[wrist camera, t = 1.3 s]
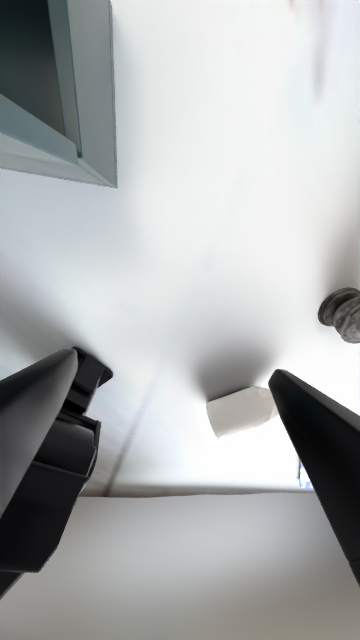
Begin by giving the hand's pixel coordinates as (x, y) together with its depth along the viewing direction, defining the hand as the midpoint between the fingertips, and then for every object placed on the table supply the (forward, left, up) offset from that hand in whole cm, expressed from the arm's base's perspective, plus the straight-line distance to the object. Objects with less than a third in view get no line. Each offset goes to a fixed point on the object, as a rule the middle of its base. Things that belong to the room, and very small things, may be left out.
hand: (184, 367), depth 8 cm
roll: (-2, -21, -13) cm, 25 cm away
